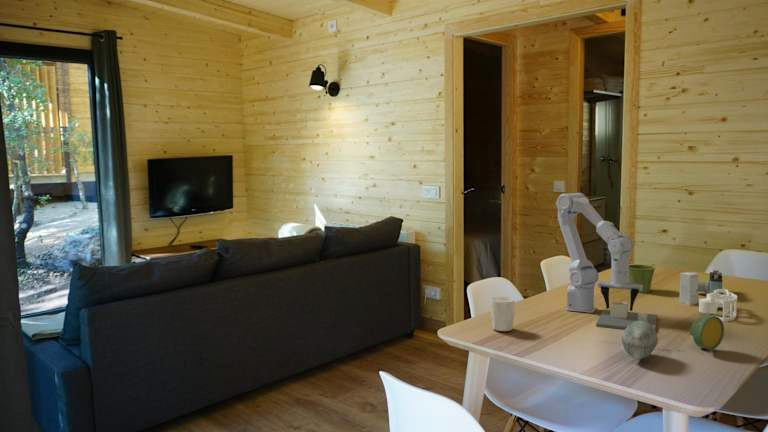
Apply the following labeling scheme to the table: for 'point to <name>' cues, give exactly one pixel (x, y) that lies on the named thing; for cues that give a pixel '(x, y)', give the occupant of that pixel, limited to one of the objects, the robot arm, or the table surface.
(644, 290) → the plant pot
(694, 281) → the skincare box
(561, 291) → the table surface
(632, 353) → the grey rounded piece
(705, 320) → the decorative artifact
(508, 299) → the white cup
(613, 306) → the white drawer cabinet
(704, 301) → the skeletal toy car
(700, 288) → the camera
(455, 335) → the table surface
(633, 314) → the plate
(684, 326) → the table surface
